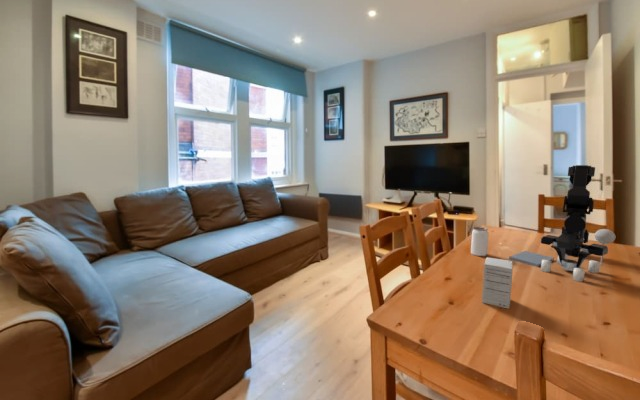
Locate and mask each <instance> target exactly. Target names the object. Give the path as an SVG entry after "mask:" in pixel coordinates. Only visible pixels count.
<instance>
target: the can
mask: <svg viewBox="0 0 640 400" xmlns="http://www.w3.org/2000/svg"><path fill="white" fill-rule="evenodd" d="M488 242H489V232H488V228H486V227H481V226H479V227H477V226H475V227H473V229H472V231H471V243H470V244H471V245H470V246H471V247H470V253H471V255H473V256H476V257H485V256H487V255H488V244H489V243H488Z"/></svg>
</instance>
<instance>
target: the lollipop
mask: <svg viewBox="0 0 640 400" xmlns="http://www.w3.org/2000/svg"><path fill="white" fill-rule="evenodd" d="M593 235H594V239H595V240H596V241H597V242H598V243H600V244H602V245H606V244H607V245H609V244H611V243H613V242H614V241H615V240H616V234H615V233H614V232H613V231H612V230H611V229H608V228H602V229H600V228H599V229H598V230H596V232H595V233H594V234H593ZM603 258H604V255H603V256H600V261H599V262H600V266H602V265H603Z"/></svg>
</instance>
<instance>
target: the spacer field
mask: <svg viewBox="0 0 640 400" xmlns="http://www.w3.org/2000/svg"><path fill="white" fill-rule="evenodd" d="M568 256H569V255H568V254H565V259H568ZM600 262H601V261H598V260H593V259H590V260H588V267H587V268H588V270H587V271H588V272H590V273H593V274H599V273H600V268H601V267H600V266H601V265H600ZM556 263H557V265H561V262H560V259H559V256H558V255H557V260H556ZM551 269H552V261H550V260H542V263H541V266H540V271H541V272H544V273H550V272H551ZM585 271H586V270H585V269H584V268H580V267H579V268H574V271H572V280H573V281H576V282H581V283H582V282H584V280H585V273H586V272H585Z"/></svg>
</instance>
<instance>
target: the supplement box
mask: <svg viewBox="0 0 640 400" xmlns="http://www.w3.org/2000/svg"><path fill="white" fill-rule="evenodd" d="M513 264H514V262H513V260H508V259H501V258H494V257H486V258H485V261H484V265H483V266H484V267H483V279H482V280H483V281H482V296H481V302H482V303H483V304H486V305H487V304H488V305H491V306H495V307H500V308H505V309H510V305H511V298H512V297H511V295H512V284H513V268H514V267H513V266H514V265H513Z"/></svg>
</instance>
